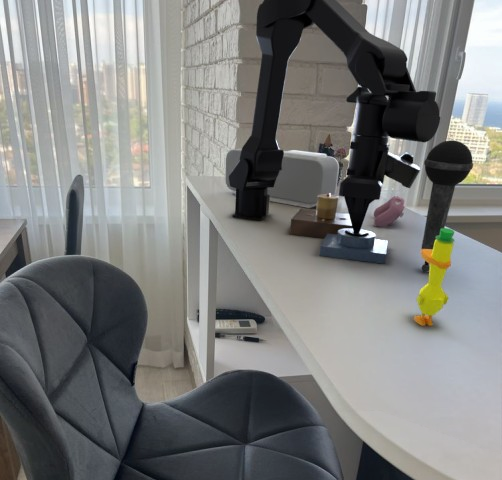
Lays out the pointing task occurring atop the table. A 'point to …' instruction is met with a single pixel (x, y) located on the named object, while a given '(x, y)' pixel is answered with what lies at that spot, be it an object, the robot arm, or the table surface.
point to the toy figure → (435, 277)
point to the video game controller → (389, 211)
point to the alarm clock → (297, 177)
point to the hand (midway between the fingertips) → (356, 231)
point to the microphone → (443, 185)
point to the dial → (326, 206)
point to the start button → (351, 232)
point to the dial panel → (317, 224)
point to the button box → (354, 247)
